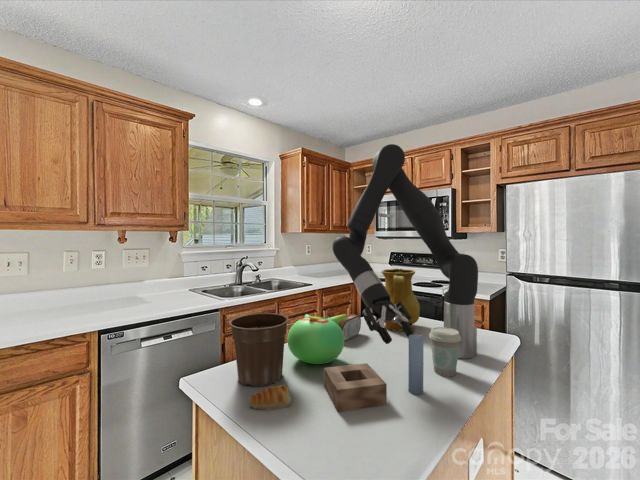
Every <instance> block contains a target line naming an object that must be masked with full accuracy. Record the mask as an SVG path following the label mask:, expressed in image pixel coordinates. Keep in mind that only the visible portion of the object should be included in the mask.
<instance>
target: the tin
mask: <svg viewBox="0 0 640 480" xmlns="http://www.w3.org/2000/svg"><path fill="white" fill-rule="evenodd" d="M337 325H338V326H339V327H340V328H341V330H342V332H343V334H344V342H347V341H349V340H351V339H354V338H355V337H357V336H358V335H359V333H360V331H361V325H362V319H361V316H359V315H357V314H354V313H352V314H349V315H347V317H346V318H344V319H343V320H342V321H340V322H339V323H338V324H337Z"/></svg>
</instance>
